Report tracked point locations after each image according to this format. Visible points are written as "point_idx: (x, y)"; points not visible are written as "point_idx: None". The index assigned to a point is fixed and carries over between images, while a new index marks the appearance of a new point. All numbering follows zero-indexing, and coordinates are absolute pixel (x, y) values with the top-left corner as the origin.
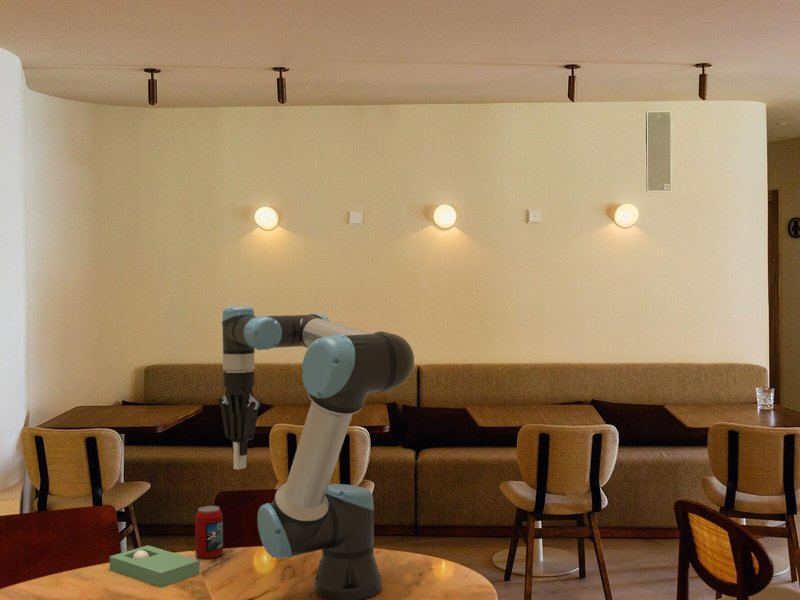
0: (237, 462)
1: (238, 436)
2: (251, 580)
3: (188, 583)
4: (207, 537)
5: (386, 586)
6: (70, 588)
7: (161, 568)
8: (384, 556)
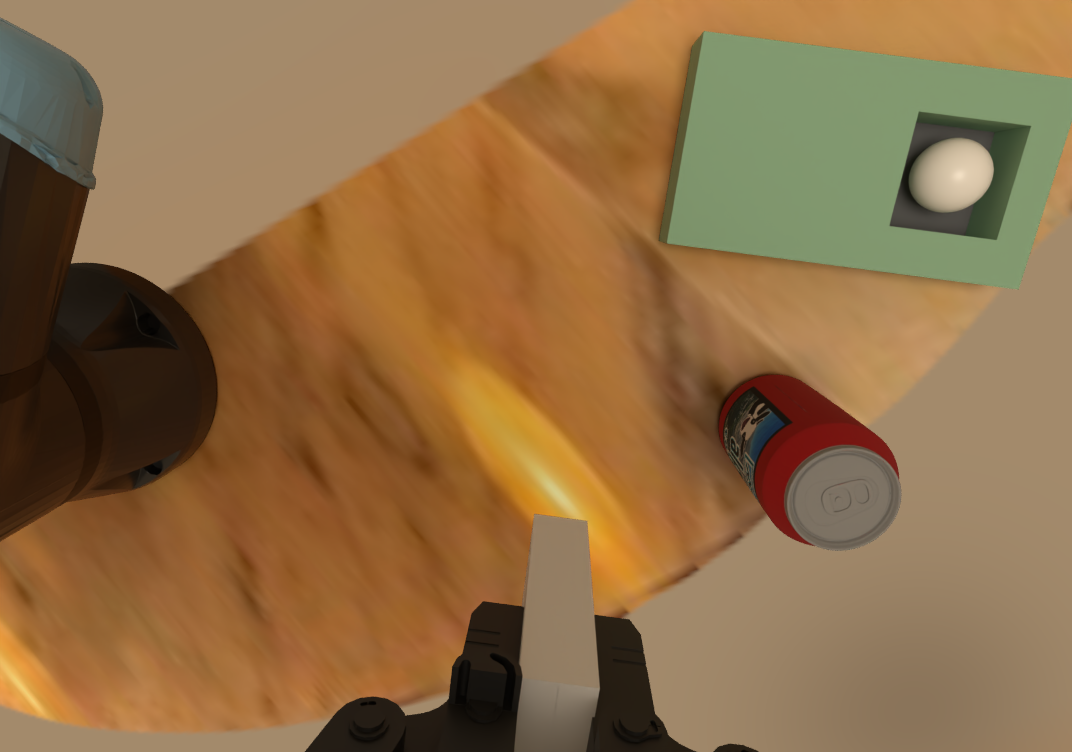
0: (534, 545)
1: (497, 748)
2: (440, 283)
3: (625, 138)
4: (766, 405)
5: None
6: None
7: (745, 81)
8: (220, 677)
